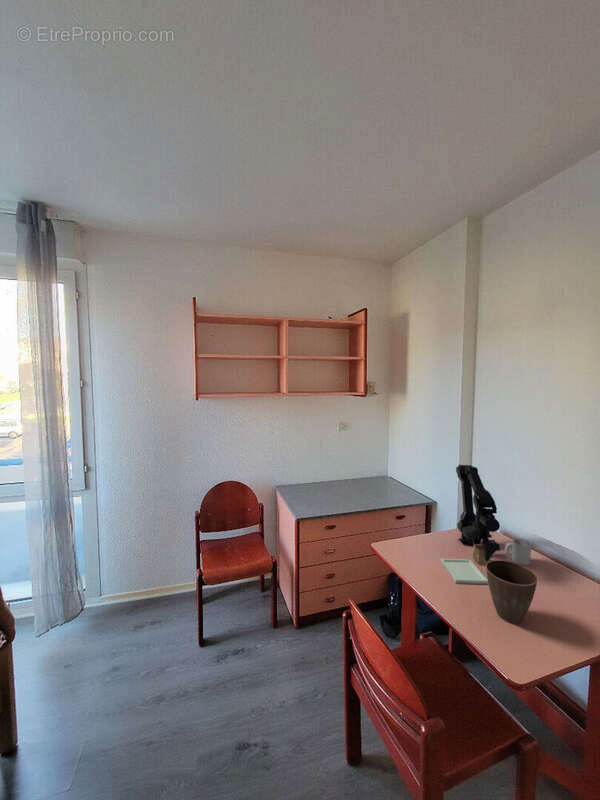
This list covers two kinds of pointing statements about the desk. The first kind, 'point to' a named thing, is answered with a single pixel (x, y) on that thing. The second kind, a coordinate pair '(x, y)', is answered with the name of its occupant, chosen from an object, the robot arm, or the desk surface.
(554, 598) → the desk surface
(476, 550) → the walnut block
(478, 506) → the robot arm
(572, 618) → the desk surface
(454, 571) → the tray
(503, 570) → the plant pot
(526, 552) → the cup
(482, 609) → the desk surface
